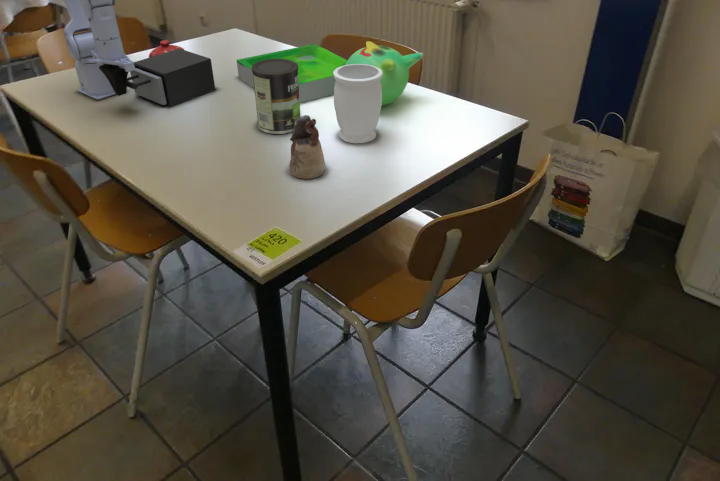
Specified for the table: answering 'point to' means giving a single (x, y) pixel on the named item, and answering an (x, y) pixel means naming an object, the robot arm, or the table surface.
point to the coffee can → (276, 95)
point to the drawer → (147, 85)
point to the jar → (357, 101)
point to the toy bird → (387, 67)
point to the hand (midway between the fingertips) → (121, 93)
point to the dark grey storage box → (181, 74)
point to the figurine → (306, 150)
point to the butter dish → (163, 48)
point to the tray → (301, 69)
